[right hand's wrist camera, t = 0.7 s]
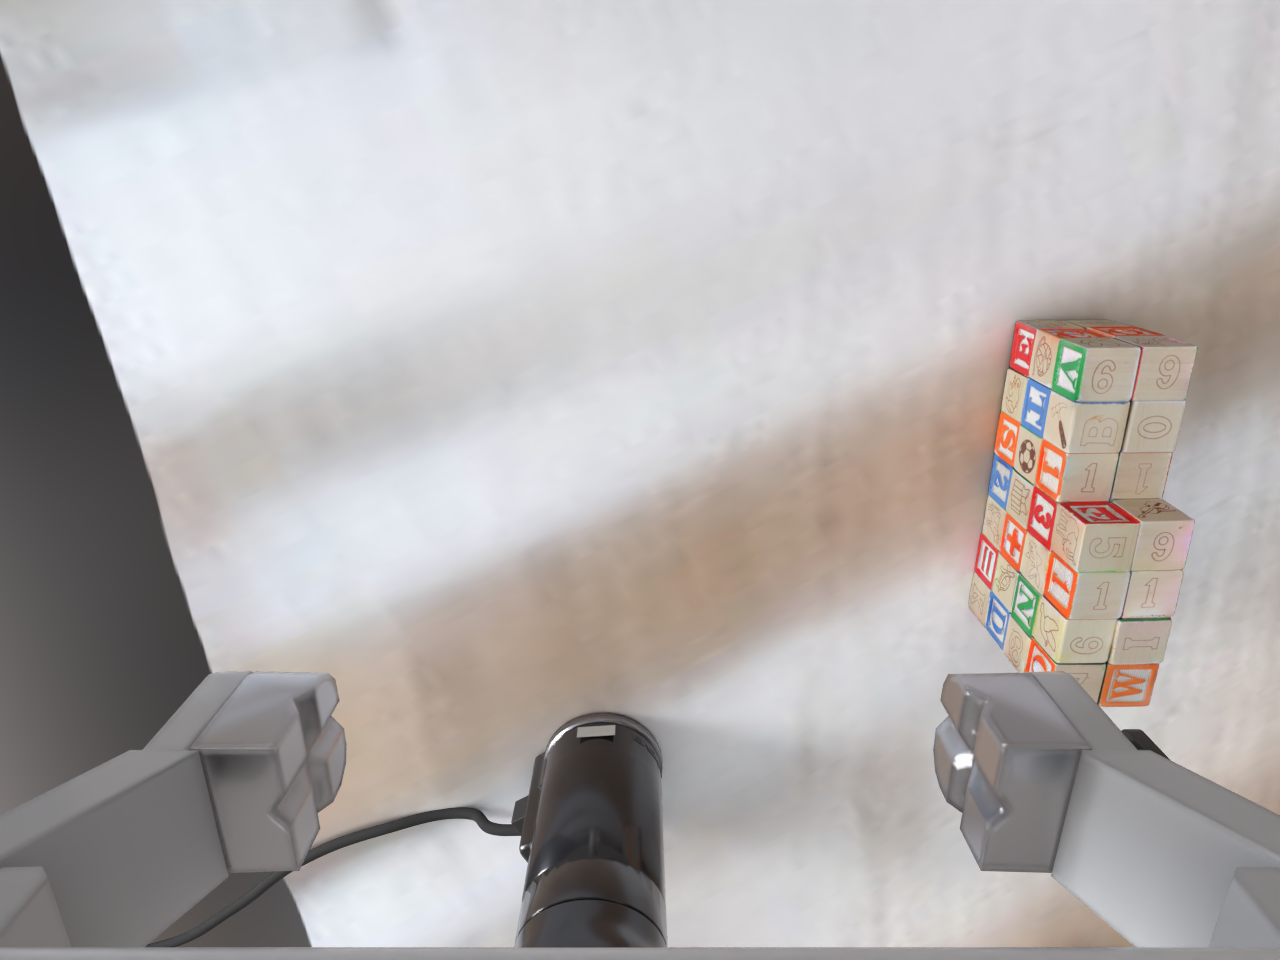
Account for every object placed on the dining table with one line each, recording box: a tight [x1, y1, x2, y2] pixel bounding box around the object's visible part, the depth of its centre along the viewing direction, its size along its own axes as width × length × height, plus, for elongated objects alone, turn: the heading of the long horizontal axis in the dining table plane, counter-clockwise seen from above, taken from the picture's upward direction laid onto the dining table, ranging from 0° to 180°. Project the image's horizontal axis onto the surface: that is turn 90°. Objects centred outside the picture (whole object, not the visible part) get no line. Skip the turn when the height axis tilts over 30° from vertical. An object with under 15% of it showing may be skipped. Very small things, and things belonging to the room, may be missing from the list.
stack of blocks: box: [969, 320, 1197, 707], centre depth 50 cm, size 21×6×12 cm, turn 0°
